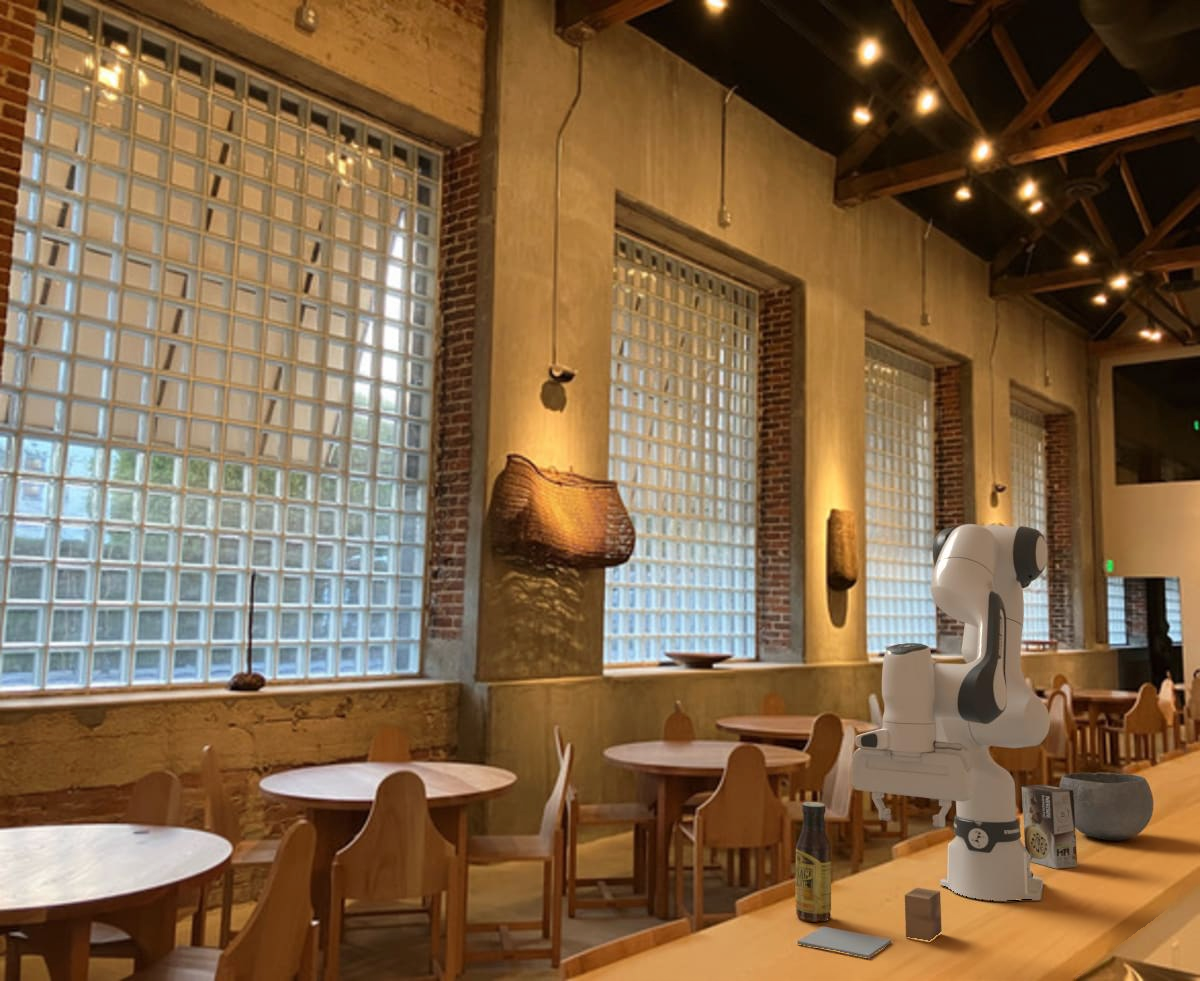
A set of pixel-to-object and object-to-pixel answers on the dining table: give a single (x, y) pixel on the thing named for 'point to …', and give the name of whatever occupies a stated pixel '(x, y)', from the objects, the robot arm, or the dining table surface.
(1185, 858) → the dining table surface
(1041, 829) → the coffee box
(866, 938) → the mat
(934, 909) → the walnut block
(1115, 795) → the bowl
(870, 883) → the dining table surface
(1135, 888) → the dining table surface
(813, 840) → the sauce bottle
